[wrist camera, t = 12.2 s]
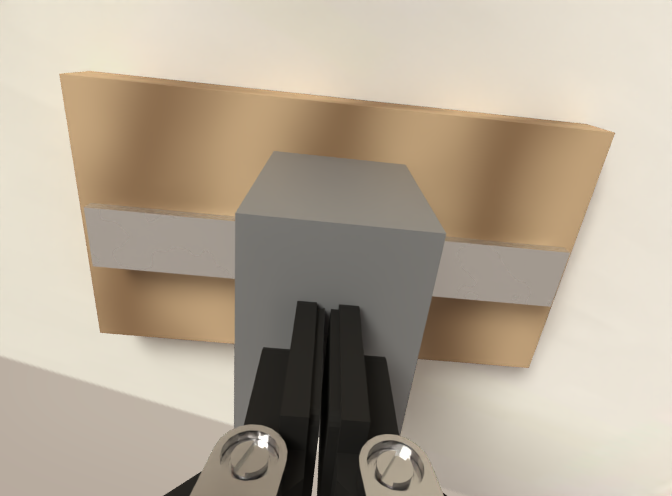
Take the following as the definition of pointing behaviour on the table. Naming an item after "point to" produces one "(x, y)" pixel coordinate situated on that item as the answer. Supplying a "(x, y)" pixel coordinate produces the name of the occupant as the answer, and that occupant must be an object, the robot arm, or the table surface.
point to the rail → (219, 254)
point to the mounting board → (332, 141)
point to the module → (334, 261)
